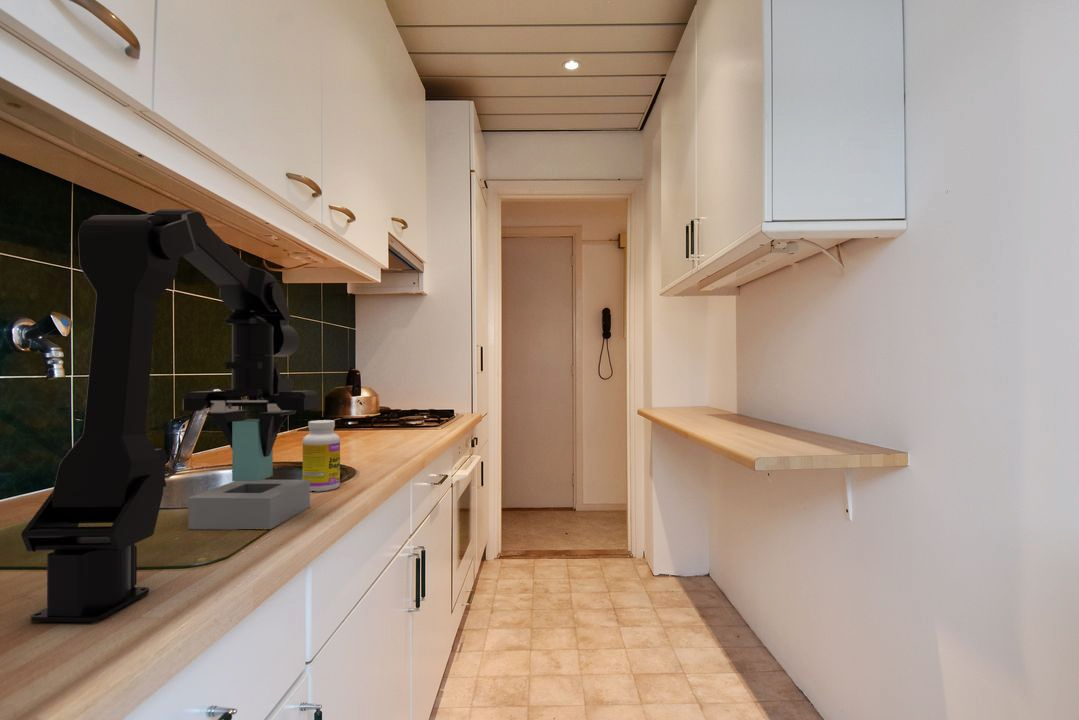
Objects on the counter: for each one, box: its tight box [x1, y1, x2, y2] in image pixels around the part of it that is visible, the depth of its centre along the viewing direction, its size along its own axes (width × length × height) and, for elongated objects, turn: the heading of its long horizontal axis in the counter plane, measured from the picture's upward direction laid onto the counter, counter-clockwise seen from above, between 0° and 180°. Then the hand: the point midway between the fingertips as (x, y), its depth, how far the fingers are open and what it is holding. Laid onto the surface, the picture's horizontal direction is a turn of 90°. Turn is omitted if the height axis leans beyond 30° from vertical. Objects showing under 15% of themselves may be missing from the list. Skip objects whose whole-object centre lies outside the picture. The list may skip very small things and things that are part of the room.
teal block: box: [231, 418, 274, 482], centre depth 81 cm, size 4×4×9 cm
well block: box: [187, 479, 311, 531], centre depth 81 cm, size 12×12×4 cm
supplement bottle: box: [301, 419, 341, 493], centre depth 100 cm, size 7×7×13 cm
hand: (252, 456), depth 81 cm, fingers closed on teal block, 4 cm apart
